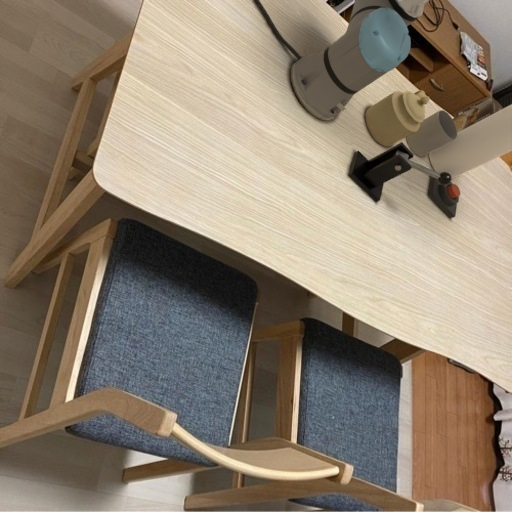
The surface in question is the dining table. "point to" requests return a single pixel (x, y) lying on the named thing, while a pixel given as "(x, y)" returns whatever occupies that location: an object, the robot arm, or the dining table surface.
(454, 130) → the cup
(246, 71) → the dining table surface
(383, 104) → the sugar bowl
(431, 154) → the tall pillar cylinder
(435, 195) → the button block
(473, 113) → the coffee box
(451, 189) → the button
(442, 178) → the lever
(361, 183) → the bracket
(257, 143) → the dining table surface
